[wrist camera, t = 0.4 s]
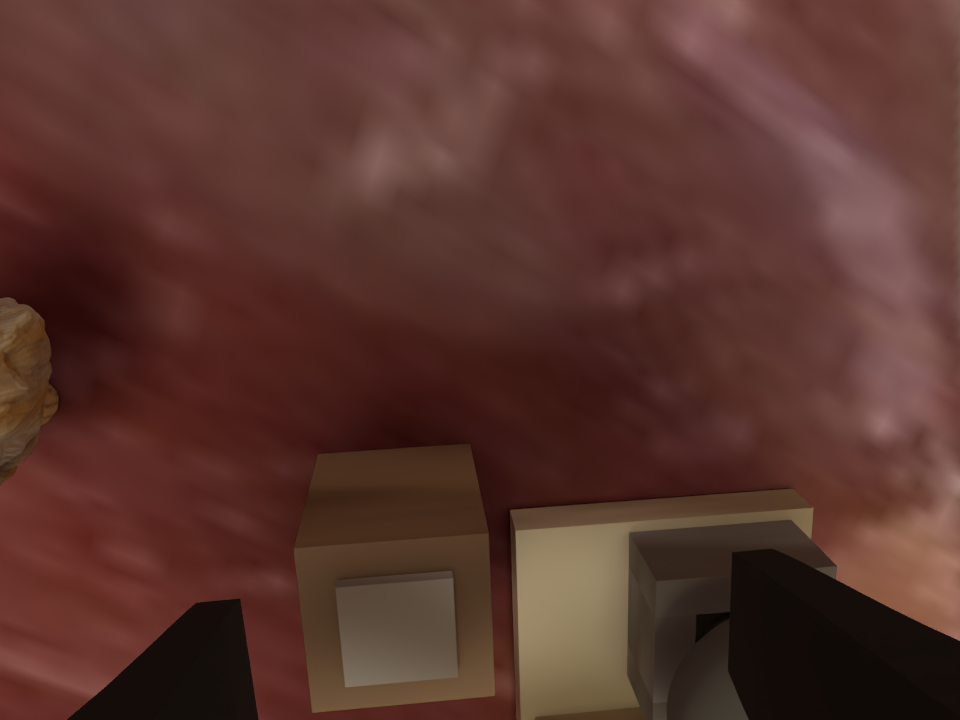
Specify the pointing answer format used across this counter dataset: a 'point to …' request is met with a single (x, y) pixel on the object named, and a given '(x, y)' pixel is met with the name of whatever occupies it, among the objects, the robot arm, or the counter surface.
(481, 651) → the wooden block
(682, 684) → the wheel
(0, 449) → the lion figurine
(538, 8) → the counter surface
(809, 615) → the robot arm
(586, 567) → the chassis board
